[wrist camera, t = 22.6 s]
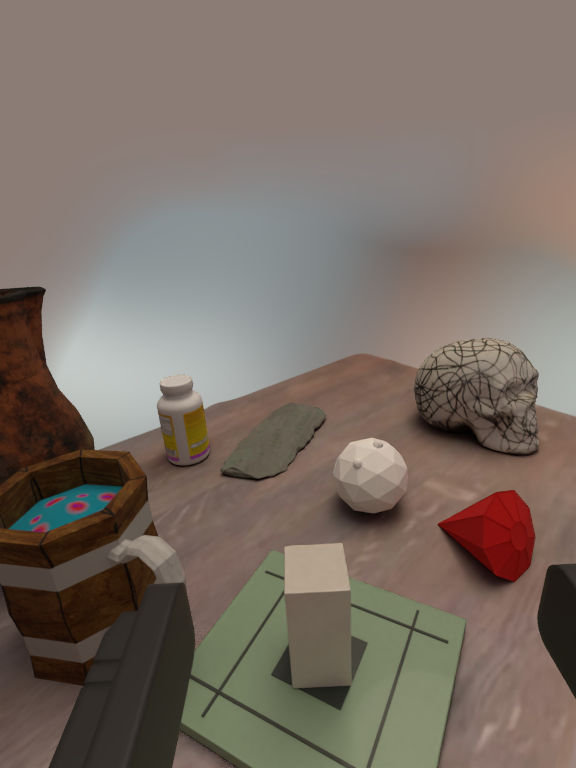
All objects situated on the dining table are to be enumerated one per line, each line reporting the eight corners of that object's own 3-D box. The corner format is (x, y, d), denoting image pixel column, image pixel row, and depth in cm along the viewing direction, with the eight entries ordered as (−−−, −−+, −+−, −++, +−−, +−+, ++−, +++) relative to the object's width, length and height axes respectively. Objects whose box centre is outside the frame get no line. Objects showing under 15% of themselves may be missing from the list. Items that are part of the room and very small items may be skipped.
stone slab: (328, 422, 80) (278, 408, 83) (330, 408, 79) (279, 395, 82) (275, 495, 61) (213, 474, 65) (276, 479, 60) (213, 458, 64)
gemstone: (399, 535, 49) (480, 550, 41) (429, 471, 53) (508, 472, 45) (444, 580, 52) (529, 602, 43) (470, 515, 56) (552, 524, 47)
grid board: (465, 628, 40) (466, 618, 39) (414, 882, 25) (415, 871, 25) (272, 557, 49) (271, 548, 48) (155, 714, 35) (152, 703, 34)
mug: (-5, 640, 41) (-63, 510, 36) (117, 548, 52) (86, 435, 46) (133, 770, 31) (82, 617, 25) (250, 623, 41) (233, 490, 36)
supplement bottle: (213, 443, 73) (202, 370, 68) (206, 466, 67) (194, 387, 62) (173, 446, 73) (159, 373, 68) (162, 468, 67) (146, 390, 62)
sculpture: (471, 471, 62) (483, 370, 56) (396, 412, 79) (399, 331, 73) (558, 448, 65) (578, 351, 60) (468, 397, 83) (476, 319, 77)
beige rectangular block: (344, 632, 39) (342, 542, 35) (351, 686, 34) (351, 590, 31) (291, 635, 39) (284, 545, 35) (292, 689, 34) (284, 593, 31)
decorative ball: (404, 562, 50) (364, 482, 46) (344, 529, 59) (307, 459, 55) (449, 510, 54) (416, 431, 50) (387, 486, 63) (355, 418, 59)
